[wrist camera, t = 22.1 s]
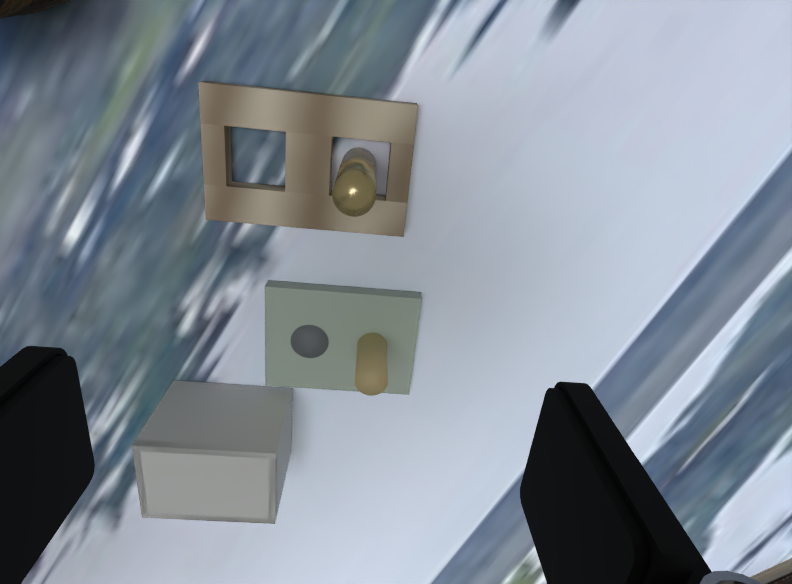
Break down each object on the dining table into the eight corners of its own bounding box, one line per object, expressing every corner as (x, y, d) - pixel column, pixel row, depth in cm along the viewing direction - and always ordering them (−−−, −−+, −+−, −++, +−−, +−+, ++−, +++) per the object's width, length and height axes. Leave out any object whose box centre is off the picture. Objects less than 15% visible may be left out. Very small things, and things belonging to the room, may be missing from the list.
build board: (212, 213, 37) (205, 219, 36) (206, 81, 33) (198, 81, 32) (402, 230, 38) (403, 236, 37) (416, 103, 34) (418, 105, 33)
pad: (268, 377, 43) (251, 424, 37) (268, 280, 39) (249, 316, 34) (408, 386, 44) (412, 434, 38) (420, 292, 40) (427, 329, 35)
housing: (179, 445, 46) (142, 517, 38) (173, 380, 43) (132, 445, 36) (291, 451, 46) (275, 523, 39) (292, 388, 44) (275, 453, 36)
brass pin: (340, 180, 36) (331, 214, 28) (342, 145, 35) (333, 171, 27) (374, 183, 37) (374, 218, 28) (376, 149, 36) (377, 175, 27)
